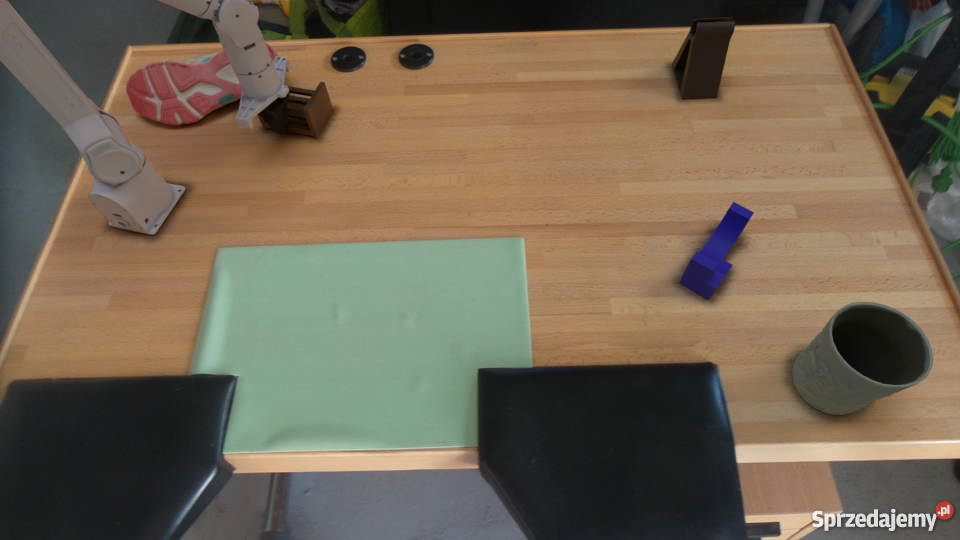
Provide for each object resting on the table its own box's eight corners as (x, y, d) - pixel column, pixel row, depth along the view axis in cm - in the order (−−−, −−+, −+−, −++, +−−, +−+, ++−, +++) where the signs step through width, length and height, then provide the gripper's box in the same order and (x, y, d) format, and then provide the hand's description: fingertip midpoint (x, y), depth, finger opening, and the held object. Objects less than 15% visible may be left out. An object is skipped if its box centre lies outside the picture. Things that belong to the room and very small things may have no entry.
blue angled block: (708, 300, 77) (723, 277, 72) (679, 282, 79) (691, 258, 74) (748, 243, 82) (764, 217, 77) (719, 227, 83) (733, 201, 78)
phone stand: (671, 65, 103) (690, 3, 93) (704, 64, 103) (727, 2, 93) (681, 99, 98) (702, 38, 88) (716, 98, 98) (741, 37, 88)
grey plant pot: (885, 386, 70) (951, 345, 60) (841, 440, 67) (903, 407, 57) (811, 330, 74) (861, 284, 64) (766, 379, 71) (811, 338, 61)
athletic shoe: (297, 76, 105) (259, 12, 101) (290, 77, 97) (249, 7, 92) (170, 143, 105) (127, 82, 101) (153, 150, 97) (104, 84, 92)
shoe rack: (317, 138, 95) (307, 110, 90) (263, 128, 97) (250, 101, 92) (333, 110, 99) (324, 82, 94) (281, 101, 100) (269, 73, 95)
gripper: (254, 99, 79) (285, 166, 91) (297, 35, 87) (320, 105, 98) (209, 92, 80) (245, 158, 92) (255, 29, 88) (283, 98, 99)
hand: (281, 130), depth 95 cm, fingers closed
